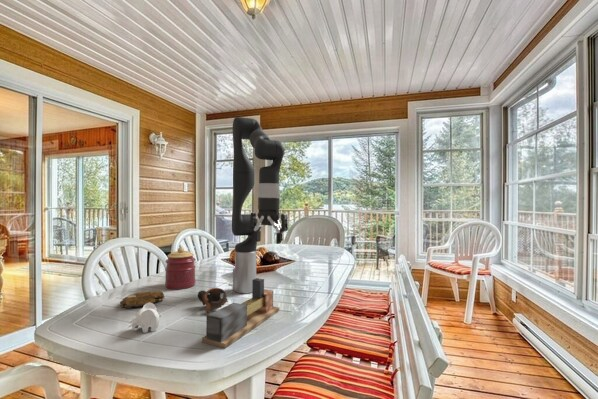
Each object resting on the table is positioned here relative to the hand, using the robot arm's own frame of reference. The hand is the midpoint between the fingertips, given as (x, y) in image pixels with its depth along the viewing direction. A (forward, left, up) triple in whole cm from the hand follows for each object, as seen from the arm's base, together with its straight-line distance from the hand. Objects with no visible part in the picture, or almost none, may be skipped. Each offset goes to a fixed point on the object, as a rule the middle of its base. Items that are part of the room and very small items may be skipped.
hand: (268, 242), depth 105 cm
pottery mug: (-20, -5, -25) cm, 32 cm away
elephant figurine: (-26, -28, -25) cm, 46 cm away
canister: (-53, +11, -25) cm, 59 cm away
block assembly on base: (-1, -12, -25) cm, 27 cm away
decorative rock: (-48, -12, -25) cm, 55 cm away
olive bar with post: (-1, -9, -21) cm, 23 cm away
